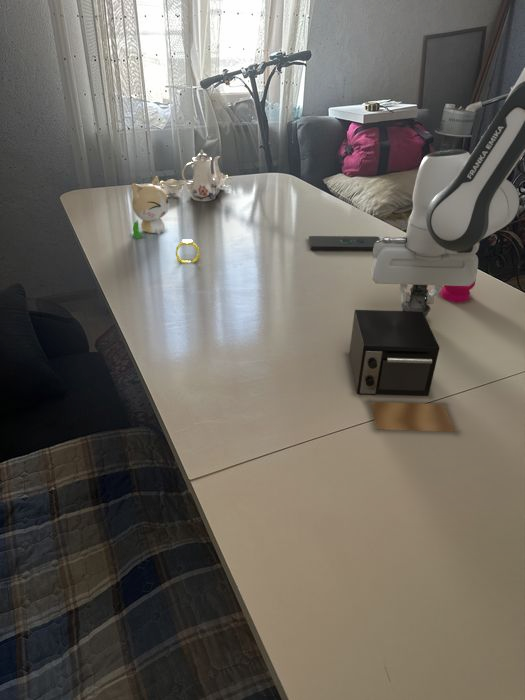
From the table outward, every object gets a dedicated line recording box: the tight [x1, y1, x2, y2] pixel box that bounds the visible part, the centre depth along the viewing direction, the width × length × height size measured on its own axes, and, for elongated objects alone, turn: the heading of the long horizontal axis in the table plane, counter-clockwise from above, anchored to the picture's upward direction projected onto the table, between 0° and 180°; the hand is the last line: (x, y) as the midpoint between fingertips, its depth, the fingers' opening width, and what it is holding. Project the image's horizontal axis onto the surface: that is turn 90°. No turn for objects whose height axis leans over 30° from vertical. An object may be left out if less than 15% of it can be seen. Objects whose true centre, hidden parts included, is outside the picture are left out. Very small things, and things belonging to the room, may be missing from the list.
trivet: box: [370, 401, 456, 433], centre depth 82 cm, size 12×7×1 cm, turn 88°
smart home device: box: [308, 235, 382, 252], centre depth 143 cm, size 8×2×20 cm
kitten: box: [131, 175, 170, 239], centre depth 147 cm, size 15×10×15 cm
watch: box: [175, 238, 200, 264], centre depth 131 cm, size 6×3×6 cm, turn 98°
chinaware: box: [159, 149, 232, 202], centre depth 178 cm, size 28×17×17 cm, turn 130°
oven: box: [348, 309, 441, 397], centre depth 88 cm, size 12×14×10 cm
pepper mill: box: [440, 241, 481, 303], centre depth 112 cm, size 7×7×20 cm
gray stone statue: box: [400, 285, 431, 318], centre depth 105 cm, size 6×6×12 cm
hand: (416, 302), depth 106 cm, fingers closed on gray stone statue, 3 cm apart
